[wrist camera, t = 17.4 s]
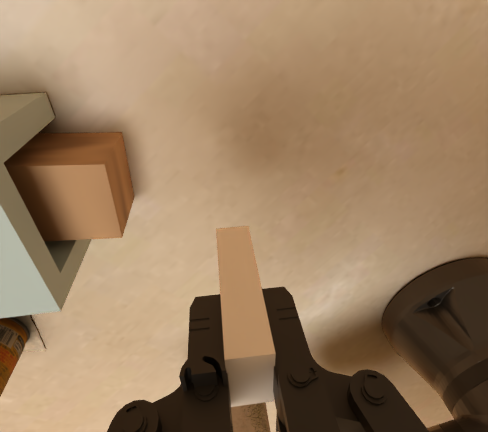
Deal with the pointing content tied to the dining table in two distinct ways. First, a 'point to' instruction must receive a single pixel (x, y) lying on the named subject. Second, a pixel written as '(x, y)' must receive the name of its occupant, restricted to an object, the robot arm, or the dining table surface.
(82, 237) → the peg
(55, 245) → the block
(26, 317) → the condiment
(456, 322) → the robot arm
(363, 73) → the dining table surface
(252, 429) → the mug
